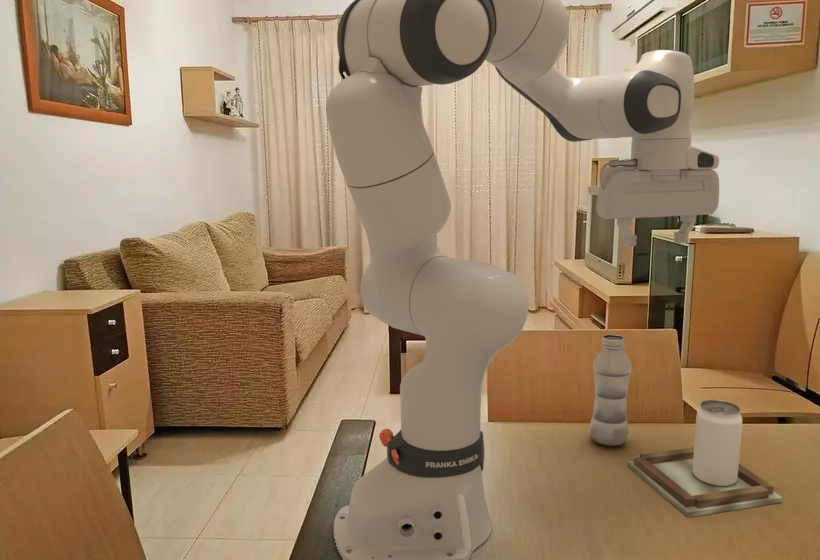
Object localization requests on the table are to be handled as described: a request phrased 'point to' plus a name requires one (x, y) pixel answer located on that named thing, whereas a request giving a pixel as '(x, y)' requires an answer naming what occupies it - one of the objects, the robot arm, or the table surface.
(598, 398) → the plastic bottle
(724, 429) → the can
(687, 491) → the wooden picture frame
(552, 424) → the table surface
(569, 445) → the table surface
